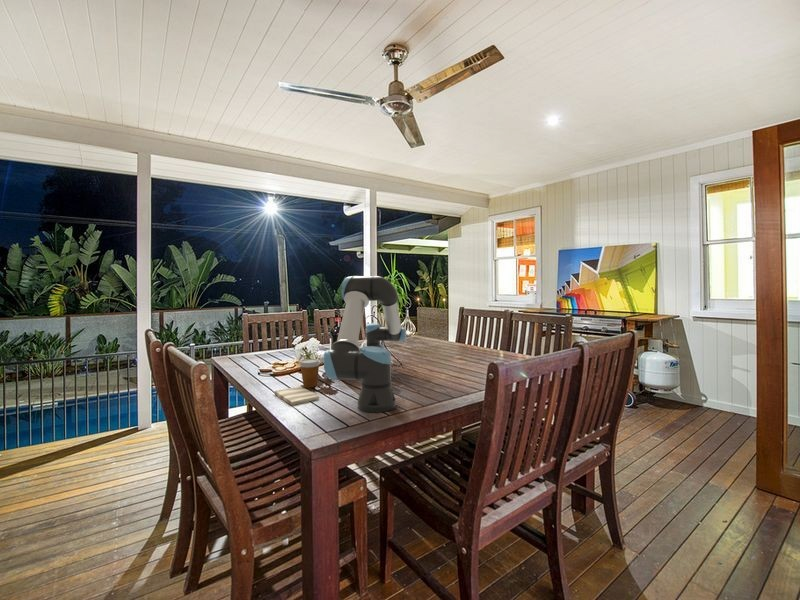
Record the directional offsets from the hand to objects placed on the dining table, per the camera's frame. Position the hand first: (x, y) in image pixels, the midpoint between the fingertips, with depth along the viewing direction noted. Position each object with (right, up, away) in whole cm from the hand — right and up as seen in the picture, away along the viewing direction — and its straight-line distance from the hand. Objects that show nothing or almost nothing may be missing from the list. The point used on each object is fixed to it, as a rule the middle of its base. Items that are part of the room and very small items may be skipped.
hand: (328, 361), depth 189 cm
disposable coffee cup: (-7, -10, -8) cm, 15 cm away
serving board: (-9, -11, -25) cm, 28 cm away
